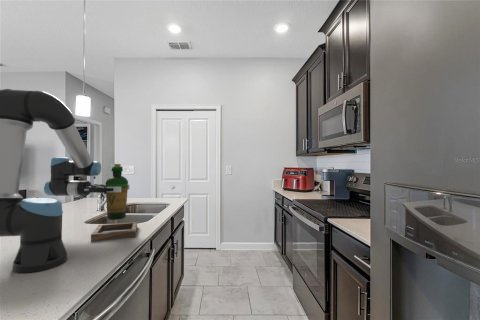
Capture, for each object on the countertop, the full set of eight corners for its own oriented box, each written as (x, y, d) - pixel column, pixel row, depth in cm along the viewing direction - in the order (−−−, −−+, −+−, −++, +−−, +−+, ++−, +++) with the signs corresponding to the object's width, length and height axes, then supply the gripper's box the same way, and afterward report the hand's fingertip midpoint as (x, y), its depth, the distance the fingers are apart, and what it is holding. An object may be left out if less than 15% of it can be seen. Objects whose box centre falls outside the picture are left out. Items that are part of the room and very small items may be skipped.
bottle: (107, 221, 117) (108, 164, 117) (102, 217, 125) (103, 163, 126) (130, 218, 124) (131, 164, 124) (125, 214, 132) (125, 163, 132)
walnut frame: (135, 237, 119) (135, 231, 119) (90, 241, 112) (90, 234, 112) (137, 227, 137) (137, 221, 137) (98, 230, 130) (98, 224, 130)
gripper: (91, 192, 135) (132, 192, 137) (66, 199, 112) (115, 198, 114) (91, 179, 135) (133, 179, 137) (66, 182, 112) (116, 183, 114)
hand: (125, 188), depth 125 cm, fingers closed on bottle, 11 cm apart
